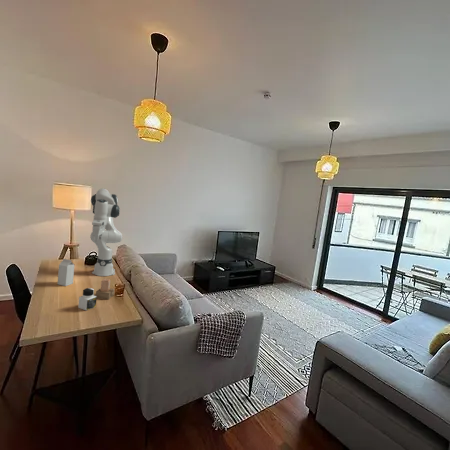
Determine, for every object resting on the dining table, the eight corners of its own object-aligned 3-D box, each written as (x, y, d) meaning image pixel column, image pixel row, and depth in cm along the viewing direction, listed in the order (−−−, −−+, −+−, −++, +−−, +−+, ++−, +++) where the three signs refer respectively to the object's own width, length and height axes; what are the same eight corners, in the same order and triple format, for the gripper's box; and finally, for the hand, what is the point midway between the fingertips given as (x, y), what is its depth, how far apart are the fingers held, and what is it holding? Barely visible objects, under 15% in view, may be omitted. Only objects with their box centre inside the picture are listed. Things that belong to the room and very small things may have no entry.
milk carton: (65, 286, 190) (67, 261, 189) (57, 284, 192) (59, 259, 190) (73, 283, 197) (75, 259, 195) (65, 281, 198) (67, 257, 197)
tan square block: (101, 293, 187) (102, 287, 186) (113, 295, 187) (114, 288, 186) (95, 298, 178) (96, 291, 177) (108, 300, 178) (109, 293, 177)
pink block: (102, 288, 183) (103, 278, 183) (109, 289, 184) (110, 278, 184) (100, 291, 179) (101, 280, 178) (107, 291, 180) (108, 281, 179)
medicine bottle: (86, 310, 158) (88, 292, 157) (77, 307, 160) (79, 289, 159) (95, 307, 165) (97, 288, 164) (87, 304, 167) (89, 286, 166)
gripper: (99, 219, 196) (97, 237, 198) (91, 222, 177) (89, 242, 178) (108, 220, 198) (106, 238, 199) (101, 223, 178) (99, 243, 179)
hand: (98, 240), depth 188 cm, fingers open, 8 cm apart
